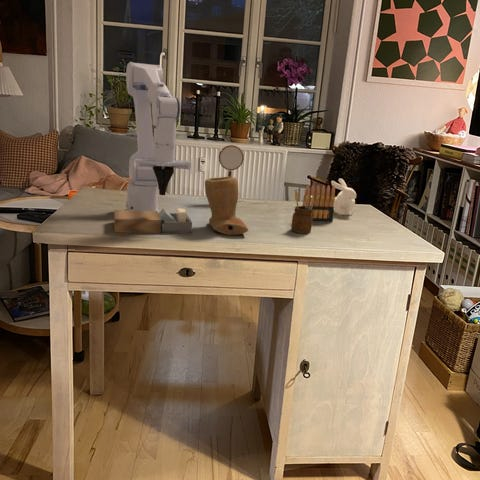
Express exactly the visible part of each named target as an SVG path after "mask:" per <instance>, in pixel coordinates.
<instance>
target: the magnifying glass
mask: <svg viewBox="0 0 480 480" xmlns="http://www.w3.org/2000/svg"><path fill="white" fill-rule="evenodd" d="M244 158H245V157H244V153H243V151H242V149H241V148H240V147H239V146H236V145H233V144H231V145H229V144H228V145H226V146H223V148H222V149H221V150H220V151H219V154H218V161H219V164H220V165H221V167H222V168H223V169H225V170H228V172H227V177H232V173H233V172H232V171H235V170H238V168H240V167H241V166H242V164H243V162H244Z"/></svg>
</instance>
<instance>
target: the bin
mask: <svg viewBox="0 0 480 480" xmlns="http://www.w3.org/2000/svg"><path fill="white" fill-rule="evenodd" d="M168 213H169V214H170V215H171V216H173V217H174V218H175V220H176V222H166V221H163V220H162V219H161V233H162V234H192V230H193V221H192V220H191V218H190V217H189V215H188V213H187V214H186V222H177V212H168Z"/></svg>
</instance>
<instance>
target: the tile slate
mask: <svg viewBox="0 0 480 480" xmlns="http://www.w3.org/2000/svg"><path fill="white" fill-rule="evenodd" d="M169 213H170V212H168V211H167V210H166V209H165V208H162V209H161V210H159V216H160V218H161V219H162V220H163V221H166V222H176V220H175V218H174V217H173V216H171V215H170V214H169Z"/></svg>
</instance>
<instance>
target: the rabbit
mask: <svg viewBox="0 0 480 480" xmlns="http://www.w3.org/2000/svg"><path fill="white" fill-rule="evenodd" d="M338 182H339V183H338ZM338 182H336V181H334V180H331V182H330V183H331V186H332V187H333V185H334V186H335V189H337V190H340V192H339V193H338V194H337V196H334V197H335V200H334V213H335V214H338V215H341V216H345V215H346V216H352V214H353V213H354V211H353V209H354V208H355V204H356V200H355V199H357V193H356V191H355V190H354V189H353V188H352V187H348V185H347V184H346V182H345V180H344V179H343V178H338Z"/></svg>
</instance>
